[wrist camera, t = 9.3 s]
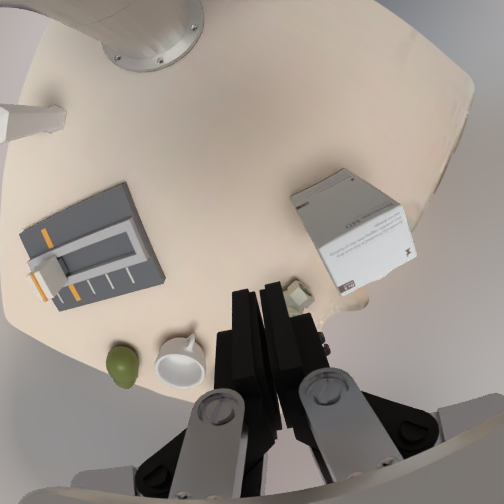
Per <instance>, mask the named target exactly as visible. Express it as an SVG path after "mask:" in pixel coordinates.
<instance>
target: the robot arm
mask: <svg viewBox="0 0 504 504" xmlns="http://www.w3.org/2000/svg"><path fill="white" fill-rule="evenodd" d="M0 7H11V8H19V9H25V10H29V11H33V12H37V13H39V14H42V15H45V16H47V17H50V18H52V19H55V20H57V21H59V22H61V23H63V24H65V25H67V26H69V27H72V28H74V29H76V30H78V31H80V32H82V33H84V34H86V35H88V36H90V37H92V38H94V39H96V40H98V41H100V42H102V46H103V49H104V51H105V54H106V55H107V56H108V58H109V59H110V60H111V61H112V62H113V63H114V64H116V65H117V66H119V67H121V68H123V69H126V70H129V71H134V72H149V71H155V70H159V69H162V68H165V67H167V66H169V65H171V64H173V63H175V62H176V61H178V60H179V59H181V58H182V57H183V56H185V55H186V54H187V53H188V52H189V51H190V50H191V49H192V47H193V46H194V45H195V43H196V42H197V40H198V38H199V36H200V34H201V32H202V28H203V25H204V14H203V9H202V6H201V3H200V1H199V0H0ZM195 28H197V30H196V31H193V29H195ZM119 58H121V59H120V60H119ZM162 60H163V61H164V62H163V63H162V64H160V62H161V61H162ZM259 291H260V298H261V305H262V312H263V319H264V324H263V320H262V317H261V313H260V309H259V305H258V301H257V298H256V294H255V291H253V292H249V290H248V289H243V290H239V291H234V292H232V330H227V331H221V332H218V333H217V341H216V358H215V377H214V390H212V391H209V392H207V393H205V394H204V395H202V396H201V397H200V398H199V399H198V400H197V401H196V402H195V404H194V407H193V408H192V412H191V416H190V420H189V423H188V427H187V428H186V429H185V430H184V431H182V432H181V433H180V434H179V435H178V436H176V437H175V438H174V439H173V440H172V441H170V442H169V443H168V444H166V445H165V446H164V447H163V448H161V449H160V450H159V451H158V452H157V453H155V454H154V455H153V456H151V457H150V458H149V459H147V460H146V461H145V462H144V463H143V464H142V465H141V466H140V467H136V468H135V467H134V466H124V467H117V468H109V469H100V470H87V471H82V472H79V473H78V474H77V475H75V477H74V478H73V480H72V482H71V487H47V488H43V489H38V490H34V491H32V492H29V493H28V494H26V495H25V496H23V498H22V499H21V500H20V502H19V503H18V504H504V396H503V395H501V394H497V393H494V394H488V395H485V396H483V397H479V398H476V399H472V400H469V401H466V402H462V403H459V404H455V405H451V406H447V407H442V408H438V410H437V412H433V413H427V412H425V411H423V410H419V409H415V408H412V407H409V406H406V405H402V404H399V403H396V402H393V401H390V400H387V399H384V398H381V397H378V396H375V395H372V394H369V393H366V392H363V391H360V389H359V387H358V386H357V384H356V383H355V381H354V380H353V378H352V377H351V376H350V375H349V374H348V373H347V372H345V371H343V370H342V369H338V368H330V366H329V363H328V360H327V357H326V355H325V352H324V349H323V346H322V343H321V341H320V338H319V335H318V332H317V329H316V327H315V324H314V321H313V319H312V316H311V314H310V313H306V314H301V315H297V316H293V317H289V313H288V310H287V306H286V302H285V298H284V295H283V291H282V287H281V284H280V281H279V282H275V283H270V284H266V285H265V289H263V290H259ZM264 326H265V328H264ZM277 394H278V397H277ZM278 398H279V401H280V405H281V408H282V411H283V415H284V418H285V422H286V425H287V428H293V429H294V434H295V437H296V439H297V440H299V441H301V442H303V443H305V444H306V445H308V446H309V448H310V451H311V453H312V456H313V458H314V460H315V463H316V465H317V467H318V470H319V472H320V475H321V477H322V480H323V482H324V484H325V485H323V486H319V487H314V488H309V489H304V490H299V491H293V492H288V493H281V494H274V495H266V496H265V484H266V472H267V460H268V454H267V451H268V450H269V449H270V448H271V447H272V446H273V445H274V444H275V439H277V432H276V431H277V430H282V423H281V416H280V410H279V403H278Z"/></svg>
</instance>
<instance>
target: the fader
mask: <svg viewBox="0 0 504 504" xmlns="http://www.w3.org/2000/svg"><path fill="white" fill-rule="evenodd" d="M68 272H69V271H68V270H67V268H66V266H65V264H64V262H63V260H62V258H59V259H57V258H56V256H54V257H52V258H49V259H47V260H45V261H42V262H41V263H40V264H39V265H38V266H37V267H36V268H35V269H33V270H32V271H31V272H30V273H29V274H28V275H27V276H26V277H27V279H28V281H29V283H30V285H31V287H32V288H33V290H34V292H35V294H36V296H37V297H38V299H39V301H40V302H41V301H44V302H46V301H47V300H48V299H51V298H54V297H55V295H56V294H57V293H58V292H59V291H60V290H61V288H62V287H63V286H64V285H65V284H66V283H67V281H68V279H67V278H66V274H67V273H68Z"/></svg>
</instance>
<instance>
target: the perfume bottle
mask: <svg viewBox="0 0 504 504" xmlns="http://www.w3.org/2000/svg"><path fill="white" fill-rule="evenodd" d="M65 117H66V111H65V110H64V109H62V108H60V107H58V106H56V105H54V106H51V107H49V108H46V107H37V106H26V105H13V104H0V144H2V143H6V142H9V141H12V140H15V139H19V138H22V137H26V136H29V135H33V134H37V133H40V132H44V131H45V132H48V133H52V132H56V131H59V130H62V129H63V127H64V122H65Z"/></svg>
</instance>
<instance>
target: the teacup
mask: <svg viewBox="0 0 504 504" xmlns="http://www.w3.org/2000/svg"><path fill="white" fill-rule="evenodd" d="M195 337H196V335H195V334H193V333H192V334H191V335H190V336H189V337H188V338H182V337H178V338H173V339H170V340H168V341H167V342H165V343H164V344H163V345H162V347H161V349H160V351H159V354H158V356H157V359H156V361H155V373H156V375H157V376H158V378H159V379H160V380H161V381H162V382H164V383H165V384H167V385H169V386H171V387H175V388H180V389H188V388H193V387H195V386H197V385H199V384H200V383H201V382H202V381H203V380H204V378H205V374H206V358H205V354H204V352H203V350H202V348H201V347H200V346H199V345H198V344H197V343H196V342H194V341H195Z"/></svg>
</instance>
